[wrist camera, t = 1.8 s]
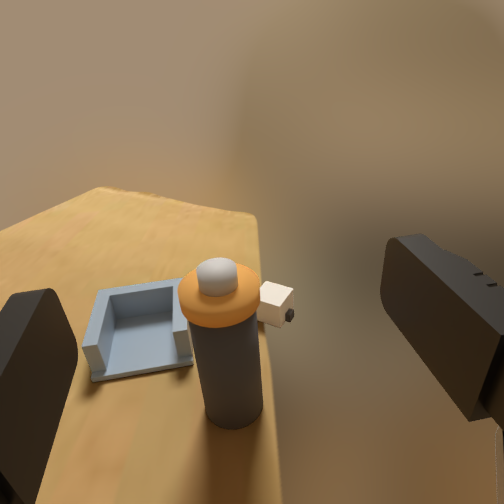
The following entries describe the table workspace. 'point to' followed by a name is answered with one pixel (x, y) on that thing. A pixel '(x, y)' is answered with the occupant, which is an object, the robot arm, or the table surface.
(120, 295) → the end holder
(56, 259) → the table surface
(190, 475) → the table surface
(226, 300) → the grey and orange bottle
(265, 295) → the routed cable
